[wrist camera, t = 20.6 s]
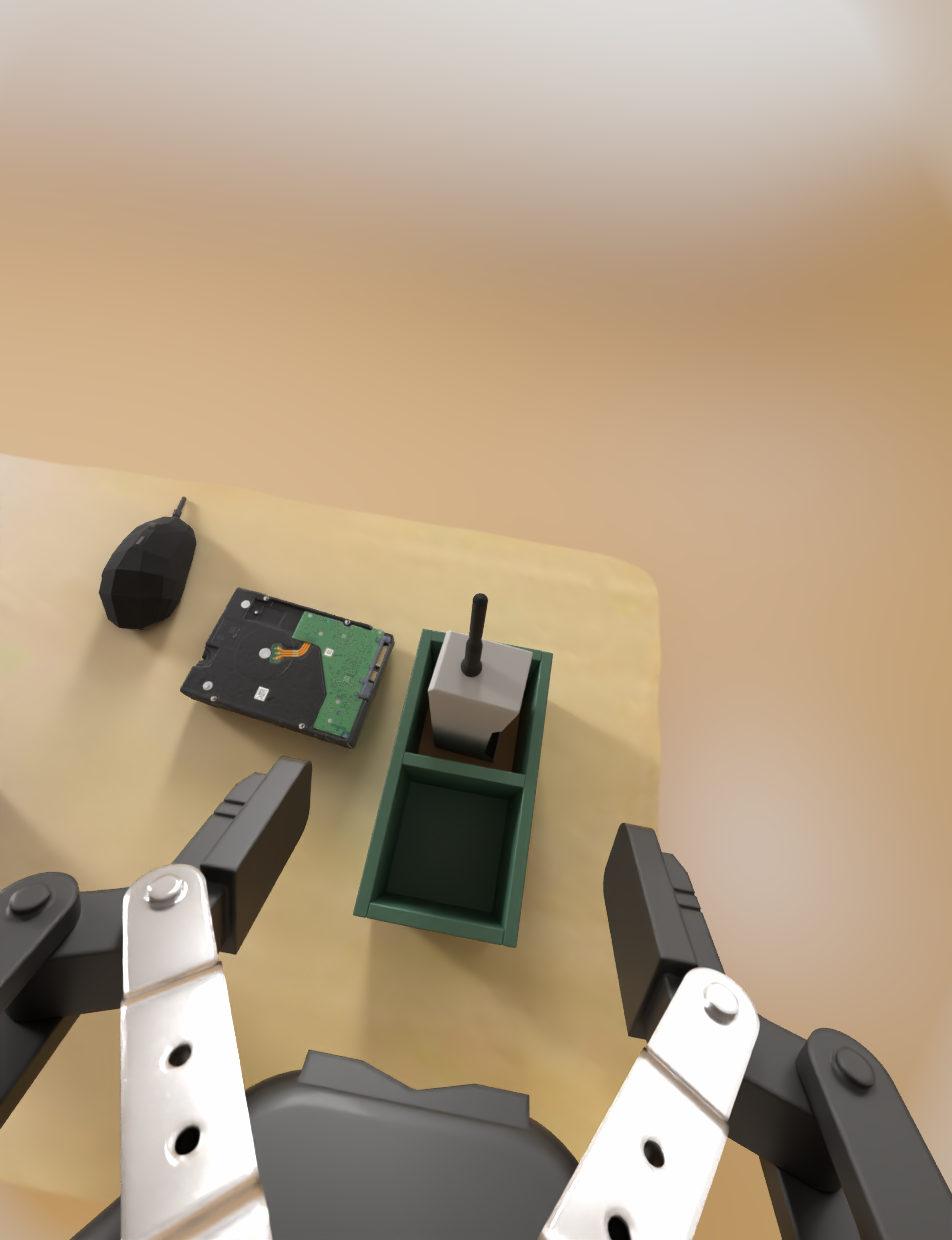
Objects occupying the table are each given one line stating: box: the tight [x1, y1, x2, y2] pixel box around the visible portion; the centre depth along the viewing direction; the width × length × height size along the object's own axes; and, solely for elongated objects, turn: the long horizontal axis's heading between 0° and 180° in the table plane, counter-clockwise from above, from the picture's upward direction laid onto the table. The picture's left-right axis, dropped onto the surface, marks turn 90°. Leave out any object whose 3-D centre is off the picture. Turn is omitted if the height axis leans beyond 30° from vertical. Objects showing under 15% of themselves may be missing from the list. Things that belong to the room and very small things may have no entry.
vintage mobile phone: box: [428, 593, 533, 763], centre depth 32 cm, size 4×5×25 cm
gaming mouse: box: [99, 497, 196, 630], centre depth 47 cm, size 6×15×4 cm, turn 176°
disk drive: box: [180, 587, 395, 749], centre depth 44 cm, size 10×3×15 cm
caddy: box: [353, 629, 553, 948], centre depth 38 cm, size 10×18×10 cm, turn 170°
